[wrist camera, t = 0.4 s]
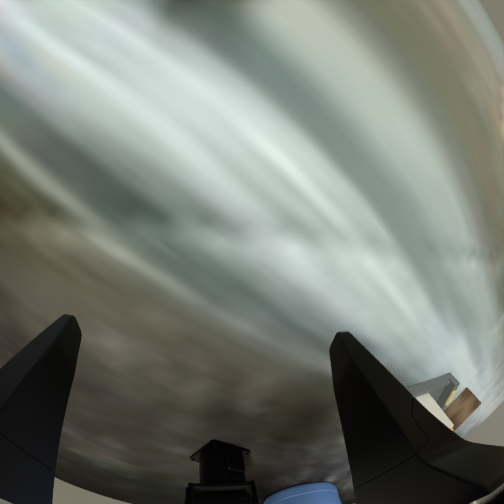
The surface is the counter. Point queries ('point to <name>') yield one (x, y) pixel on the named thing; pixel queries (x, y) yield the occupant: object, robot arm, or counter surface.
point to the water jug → (306, 494)
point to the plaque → (462, 408)
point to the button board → (435, 391)
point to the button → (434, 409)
